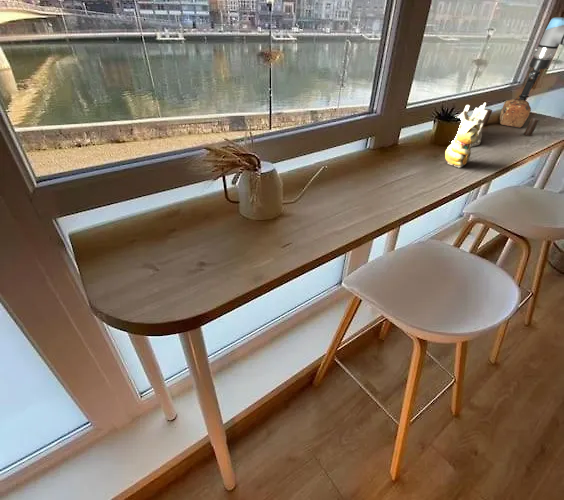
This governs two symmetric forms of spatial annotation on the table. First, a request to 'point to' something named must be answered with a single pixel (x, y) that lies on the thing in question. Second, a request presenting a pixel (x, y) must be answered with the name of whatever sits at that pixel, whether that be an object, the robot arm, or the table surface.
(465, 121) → the white pronged sculpture
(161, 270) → the table surface
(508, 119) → the bread
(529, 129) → the dark brown pieces
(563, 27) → the robot arm
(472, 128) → the decorative figurine
